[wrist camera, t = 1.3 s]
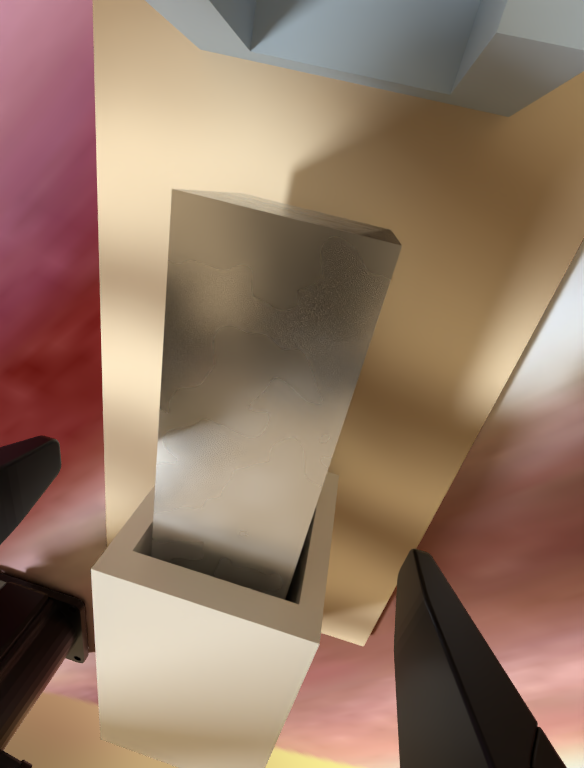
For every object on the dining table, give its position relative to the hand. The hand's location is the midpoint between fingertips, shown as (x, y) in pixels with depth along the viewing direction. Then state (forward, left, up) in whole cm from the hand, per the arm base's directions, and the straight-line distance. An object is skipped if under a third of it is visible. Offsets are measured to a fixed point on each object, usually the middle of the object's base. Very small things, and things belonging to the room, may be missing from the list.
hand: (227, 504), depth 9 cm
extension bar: (-2, 0, -4) cm, 5 cm away
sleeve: (-7, 0, -5) cm, 9 cm away
